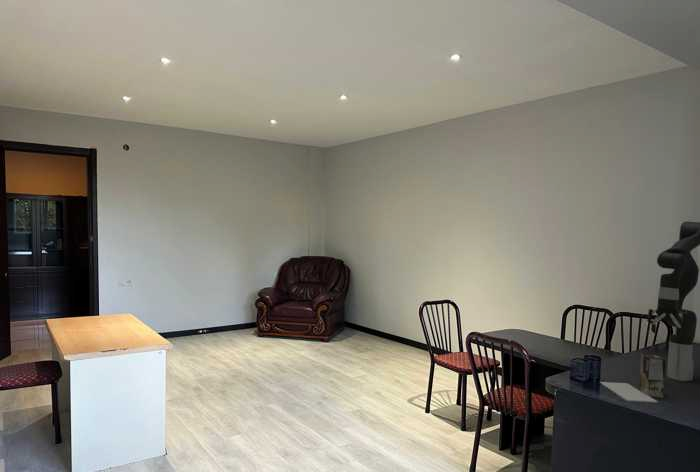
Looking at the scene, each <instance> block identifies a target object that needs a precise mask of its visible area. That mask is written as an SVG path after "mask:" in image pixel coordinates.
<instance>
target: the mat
mask: <svg viewBox="0 0 700 472" xmlns="http://www.w3.org/2000/svg"><path fill="white" fill-rule="evenodd" d="M599 382H600V383H601V384H602V386H603V385H604V386H603V387H604V388H606V387H607V388H606V389H608V390H609V389H610V391H611V392H612V391H613V392H612V393H613V394H615V393H616V394H615V395H617V396H618V397H620V398H621V399H623V400H624V401H626V402H636V403H637V402H638V403H655V404H656V403H659V401H658V400H656V399H654V398H652V397H651V396H648V395H646V394H644V393H643V392H642V391H641V390H639V389H637V388H636V387H635V386H632V385H631V384H629V383H626V382H611V381H610V382H607V381H599ZM600 383H599V384H600ZM601 384H600V385H601Z"/></svg>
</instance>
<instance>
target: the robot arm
mask: <svg viewBox="0 0 700 472" xmlns="http://www.w3.org/2000/svg"><path fill="white" fill-rule="evenodd" d="M699 246H700V222H699V221H698V222H697V221H683V222H682V223H681V225H680V228H679V237H678V240H677V241H676V242H674V243H673V245H672V246H671V247H669V248H668V249H666V250H663V251H662V252H660V253H659V254H658V256H657V258H656V263H657V265H658V267H660V268H662V269H668V270H669V269H670V270H673V271H672V272H671V273H663V274H661V276H660V281H659V282H660V284H659V290H658V296H657V297H658V298H657V307H656V309H652V308H648V312H647V318H646V322H648V323H649V324H651V332H652V333H653V334H656V330H657V328H656V327H657V325H656V324H658V322H660V321H666V322H667V324H668V325H669V326H670V327H672V328H673V327H674V328H675V332H674V334H670V336H669V341H668V354H667V355H668V357H667V359H668V360H667V371H666V377H667V378H669V379H672V380H675V381H680V382H691V381H693V377H694V363H695V362H694V360H693V345H694V344H693V343H694V339H695V338H696V330H697V325H698V323H697V322H698V320H697V314H696V312H695V311H692V310H688V309H684V308H683V304H684V301H685V299H686V297H687V296H688V295H689V294H690V293H691V292H692V291H693V290H694V288H695V287H696V285H697V284H698V281H699V279H698V278H699V273H700V269H699V266H698V264H697V262H696V261H695V259H694V257H693V255H692V253H691V252H692V251H693V250H694V249H696V248H698V247H699ZM655 313H656V315H657V316H656V317H655V318H654V319H653V318H652V317H653V315H654V314H655ZM652 319H653V320H652Z"/></svg>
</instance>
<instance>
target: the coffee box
mask: <svg viewBox="0 0 700 472" xmlns="http://www.w3.org/2000/svg"><path fill="white" fill-rule="evenodd" d="M640 355H641V356H640V368H639V369H640V372H639V386H638V387H639V389H638V390H639V391H641V392H643V393H644V394H646V395H648V396H649V397H651V398H652V397H654V398H659V399H660V398H662V399H663V398H664V392H665V391H664V389H665V374H666V362H667V360H666V359H665V358H663V357H662V356H659V355H657V354H654V353H653V354H652V353H641V354H640Z"/></svg>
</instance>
